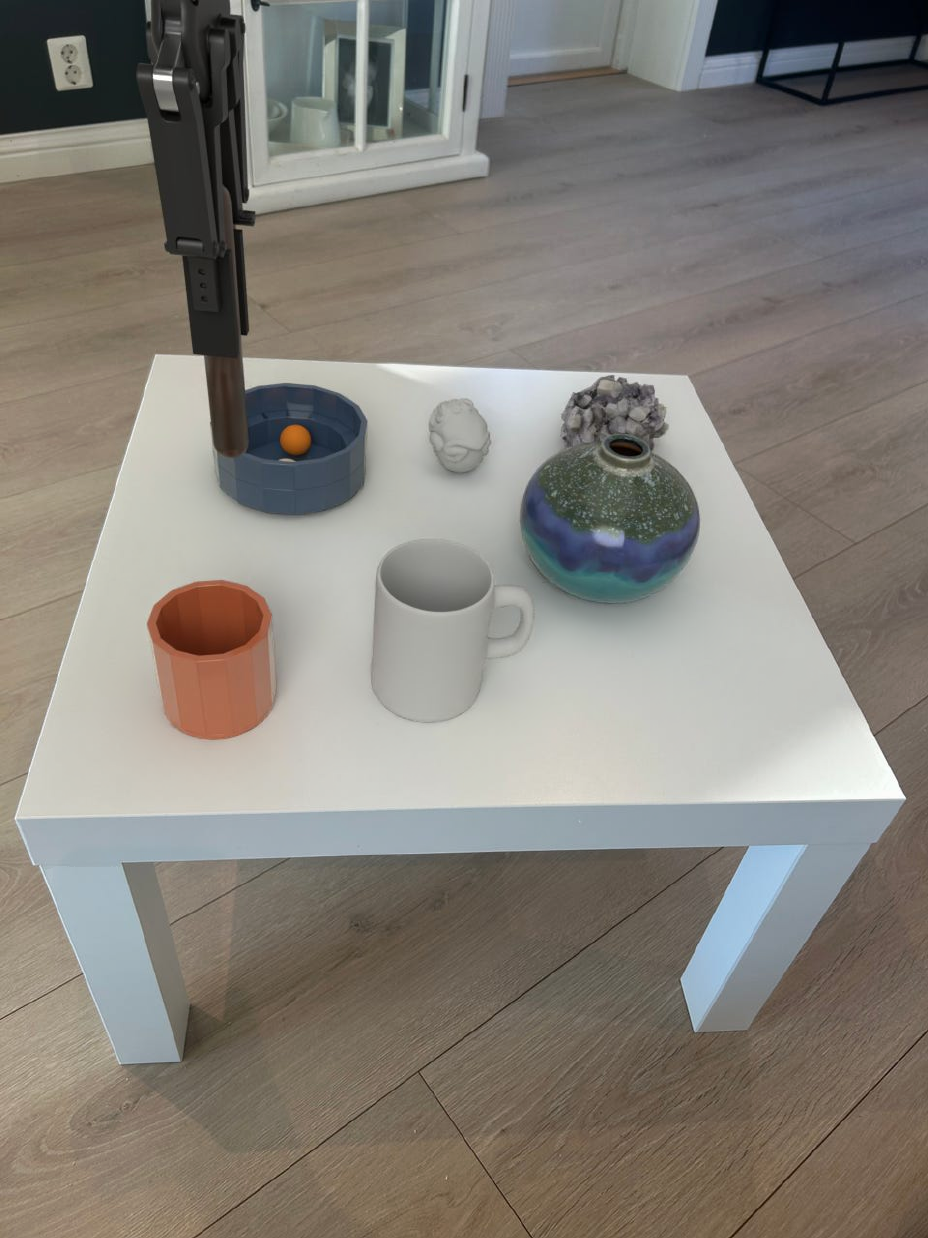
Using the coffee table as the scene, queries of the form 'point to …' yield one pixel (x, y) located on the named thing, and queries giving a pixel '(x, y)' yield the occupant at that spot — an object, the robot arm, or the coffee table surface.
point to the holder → (213, 658)
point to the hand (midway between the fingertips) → (221, 341)
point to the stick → (228, 377)
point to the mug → (438, 628)
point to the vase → (609, 520)
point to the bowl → (315, 474)
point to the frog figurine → (458, 435)
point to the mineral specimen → (613, 412)
